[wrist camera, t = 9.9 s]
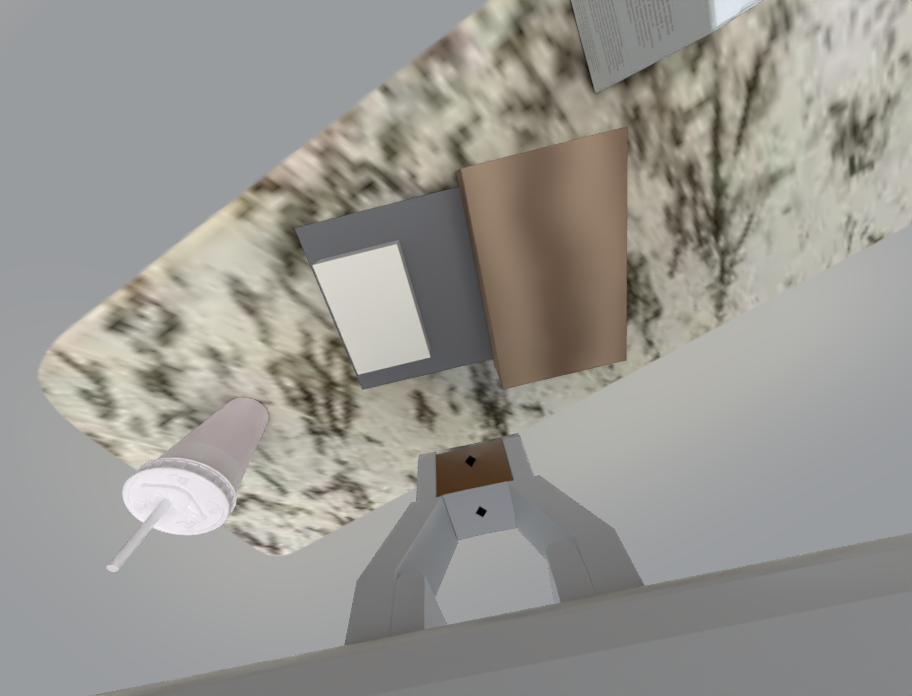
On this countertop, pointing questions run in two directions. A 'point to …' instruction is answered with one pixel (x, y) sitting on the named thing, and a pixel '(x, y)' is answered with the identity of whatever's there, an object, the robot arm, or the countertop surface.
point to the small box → (644, 31)
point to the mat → (418, 275)
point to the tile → (374, 306)
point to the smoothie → (195, 476)
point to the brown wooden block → (552, 255)
